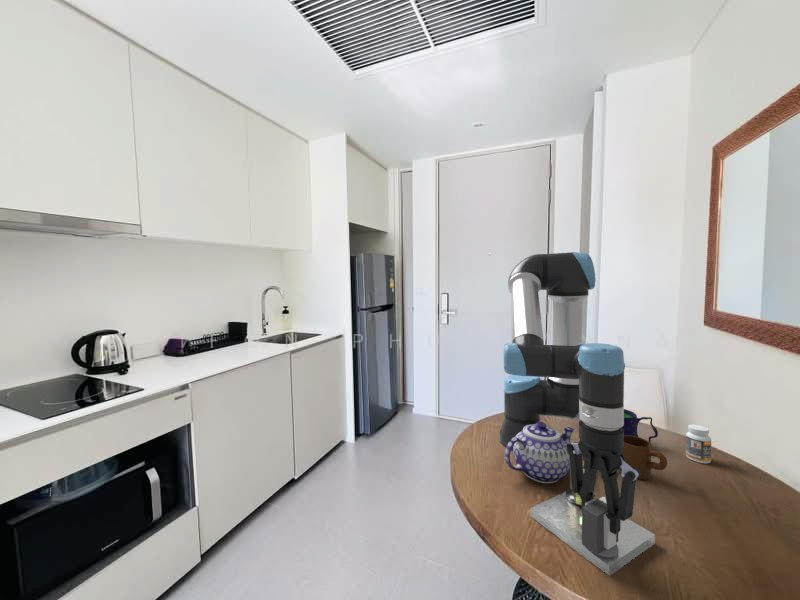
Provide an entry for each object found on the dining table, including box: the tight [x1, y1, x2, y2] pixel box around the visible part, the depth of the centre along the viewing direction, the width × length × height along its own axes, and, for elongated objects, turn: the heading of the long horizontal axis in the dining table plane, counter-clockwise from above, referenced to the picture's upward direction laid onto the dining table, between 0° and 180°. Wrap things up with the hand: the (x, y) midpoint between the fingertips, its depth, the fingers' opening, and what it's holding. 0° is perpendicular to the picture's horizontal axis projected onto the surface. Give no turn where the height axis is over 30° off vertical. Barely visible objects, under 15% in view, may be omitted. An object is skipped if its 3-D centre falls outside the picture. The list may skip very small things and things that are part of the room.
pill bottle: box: [685, 424, 712, 464], centre depth 99 cm, size 6×6×10 cm
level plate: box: [529, 491, 656, 577], centre depth 72 cm, size 18×16×3 cm
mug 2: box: [618, 435, 668, 481], centre depth 90 cm, size 12×8×9 cm, turn 21°
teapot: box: [504, 421, 575, 484], centre depth 93 cm, size 25×15×15 cm, turn 109°
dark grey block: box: [582, 495, 618, 558], centre depth 64 cm, size 7×6×8 cm
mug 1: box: [622, 408, 659, 444], centre depth 110 cm, size 15×10×10 cm, turn 48°
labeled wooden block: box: [565, 458, 595, 506], centre depth 79 cm, size 7×6×8 cm
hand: (600, 538), depth 64 cm, fingers closed on dark grey block, 3 cm apart
